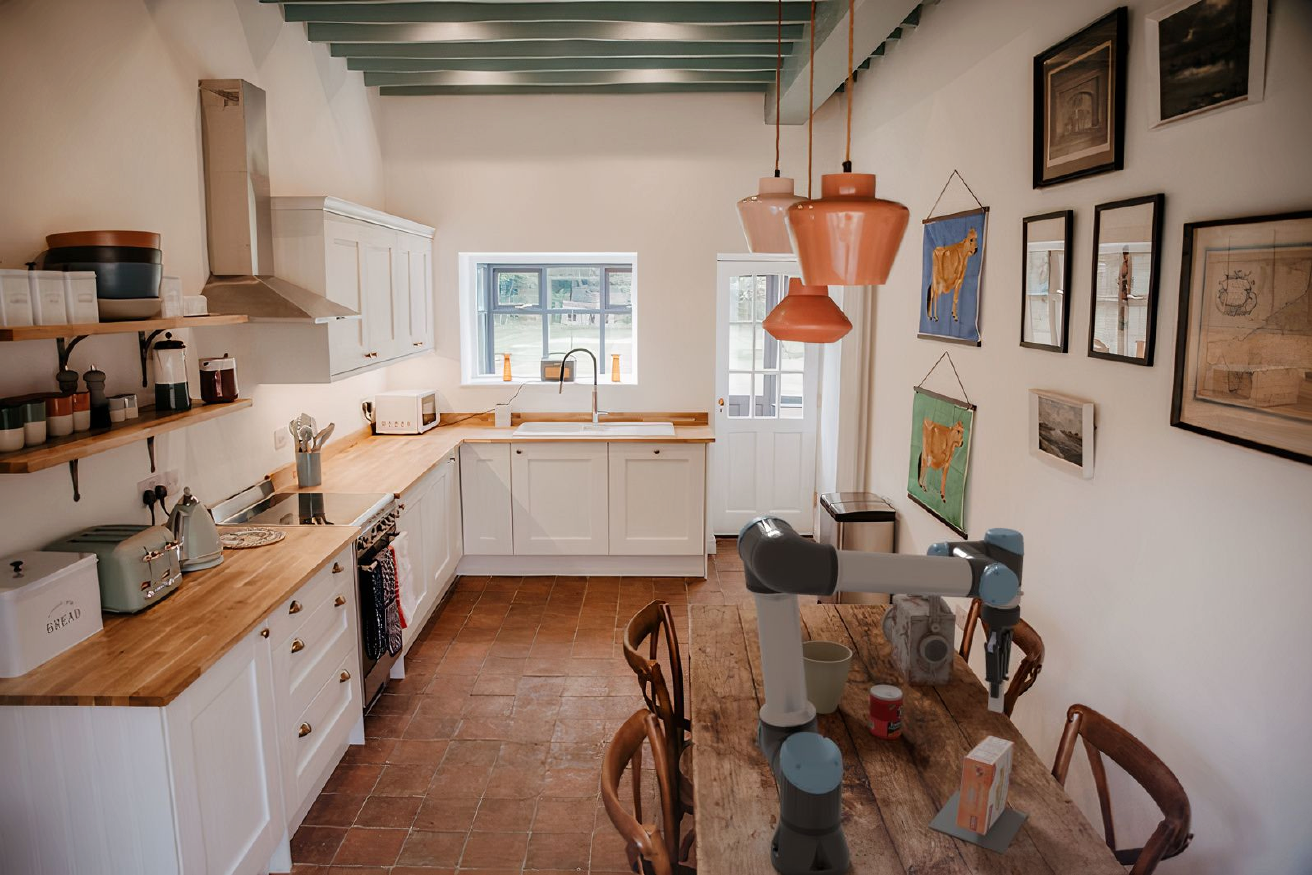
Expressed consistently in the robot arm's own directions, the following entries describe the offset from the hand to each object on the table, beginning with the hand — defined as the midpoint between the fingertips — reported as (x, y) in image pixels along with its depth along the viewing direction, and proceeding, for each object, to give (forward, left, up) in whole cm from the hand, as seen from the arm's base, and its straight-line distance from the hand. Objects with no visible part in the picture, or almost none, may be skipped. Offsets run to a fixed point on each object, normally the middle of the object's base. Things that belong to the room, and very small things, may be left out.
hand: (995, 709), depth 186 cm
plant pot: (+19, +50, -21) cm, 58 cm away
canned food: (+16, +31, -22) cm, 41 cm away
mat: (-8, 0, -21) cm, 23 cm away
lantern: (+58, +39, -22) cm, 73 cm away
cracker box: (+2, -1, -14) cm, 14 cm away
